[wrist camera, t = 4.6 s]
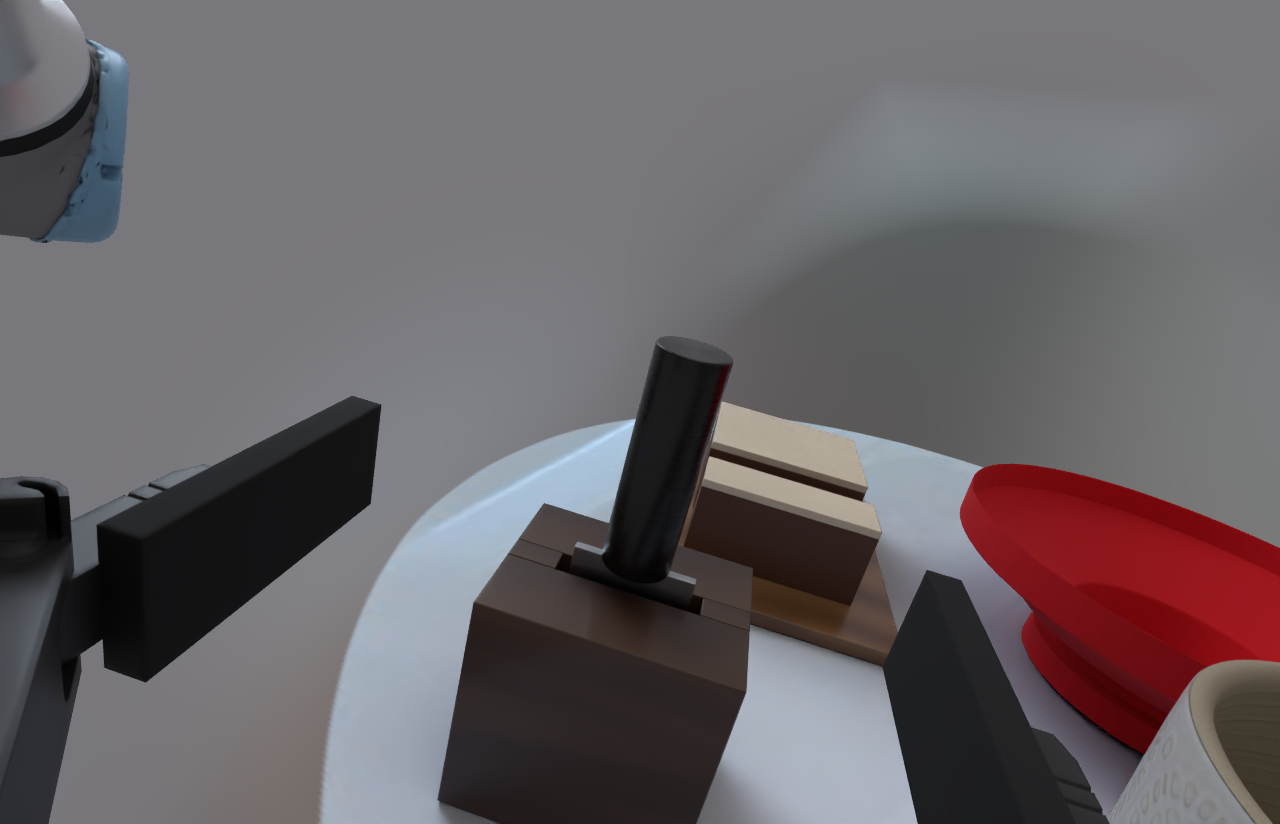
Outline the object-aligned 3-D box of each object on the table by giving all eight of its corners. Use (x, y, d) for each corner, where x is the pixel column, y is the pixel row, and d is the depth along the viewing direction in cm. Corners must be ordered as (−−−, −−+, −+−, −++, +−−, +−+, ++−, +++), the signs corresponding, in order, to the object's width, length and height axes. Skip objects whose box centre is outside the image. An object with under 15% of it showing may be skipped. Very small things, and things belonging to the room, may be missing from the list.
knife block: (673, 886, 27) (746, 692, 23) (436, 800, 28) (473, 601, 24) (695, 732, 34) (753, 567, 31) (508, 669, 35) (543, 502, 32)
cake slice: (850, 606, 46) (882, 532, 44) (680, 553, 47) (704, 478, 45) (845, 575, 50) (874, 504, 48) (687, 526, 51) (709, 455, 49)
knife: (631, 791, 29) (763, 380, 22) (521, 752, 30) (618, 338, 23) (642, 741, 32) (765, 359, 25) (541, 706, 32) (634, 322, 25)
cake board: (899, 671, 43) (904, 659, 42) (624, 583, 44) (628, 571, 44) (853, 493, 67) (857, 485, 66) (677, 441, 69) (680, 432, 68)
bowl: (1362, 1053, 27) (1537, 886, 24) (835, 582, 51) (883, 463, 47) (1506, 824, 43) (1624, 704, 39) (1054, 547, 67) (1102, 456, 63)
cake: (841, 554, 53) (868, 487, 51) (692, 508, 54) (712, 441, 52) (831, 498, 62) (853, 439, 60) (704, 460, 63) (722, 401, 61)
